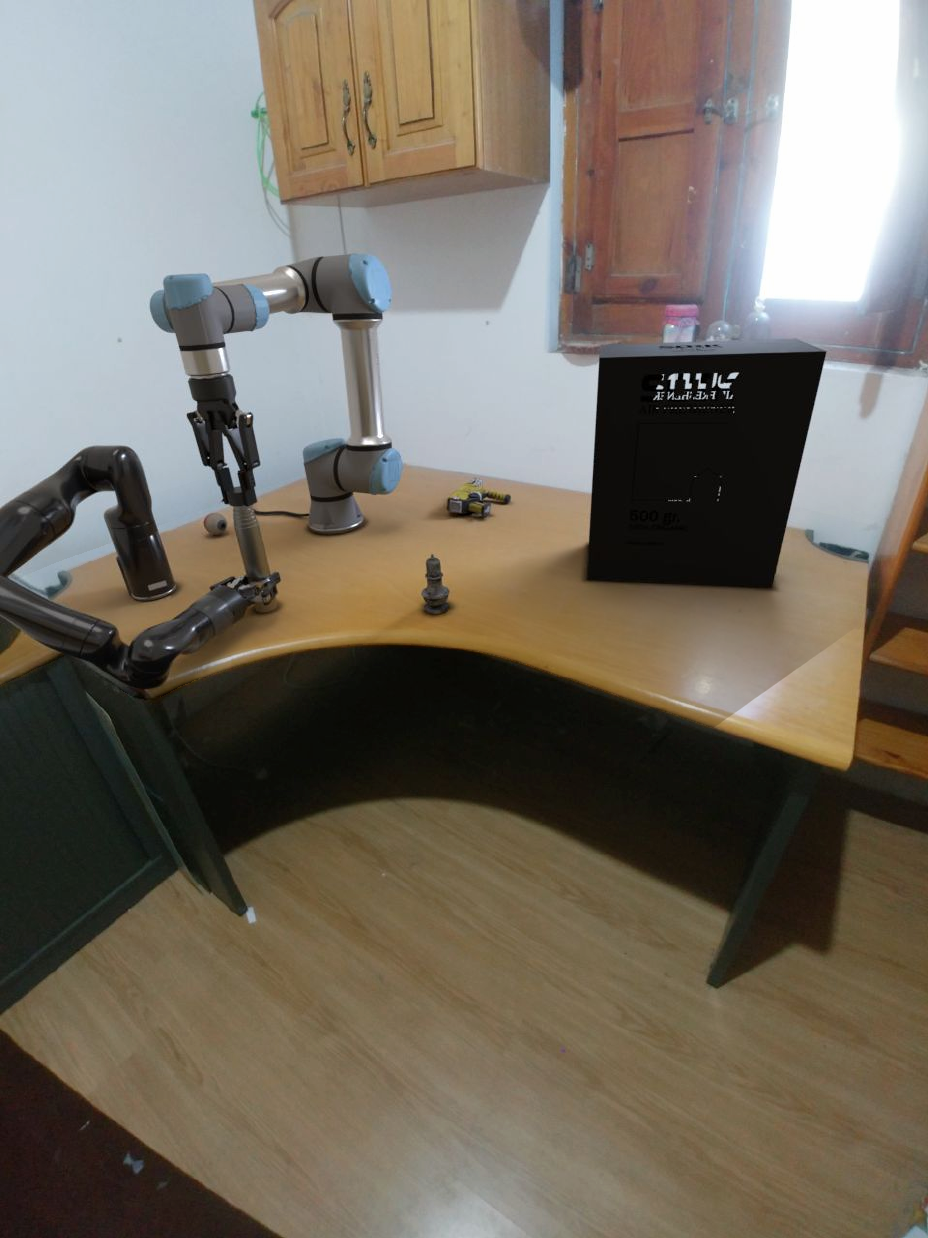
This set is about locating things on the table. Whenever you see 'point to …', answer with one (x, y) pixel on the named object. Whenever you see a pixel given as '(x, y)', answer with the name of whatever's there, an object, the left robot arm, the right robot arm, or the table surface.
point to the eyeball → (215, 523)
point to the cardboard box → (698, 459)
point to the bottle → (252, 551)
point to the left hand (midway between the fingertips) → (267, 574)
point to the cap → (235, 496)
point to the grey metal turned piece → (435, 588)
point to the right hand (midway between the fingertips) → (241, 502)
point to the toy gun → (473, 499)
